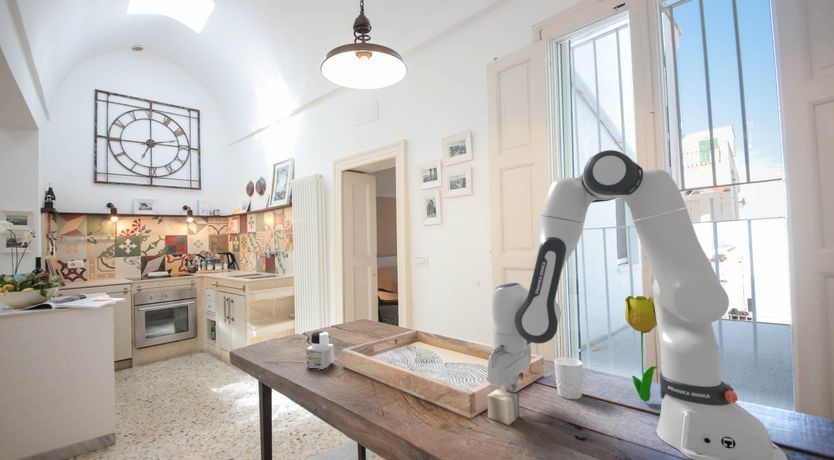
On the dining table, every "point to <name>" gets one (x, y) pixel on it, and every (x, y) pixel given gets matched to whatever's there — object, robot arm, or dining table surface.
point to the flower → (643, 320)
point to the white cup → (568, 377)
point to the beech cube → (503, 406)
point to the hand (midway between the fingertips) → (511, 392)
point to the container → (320, 351)
